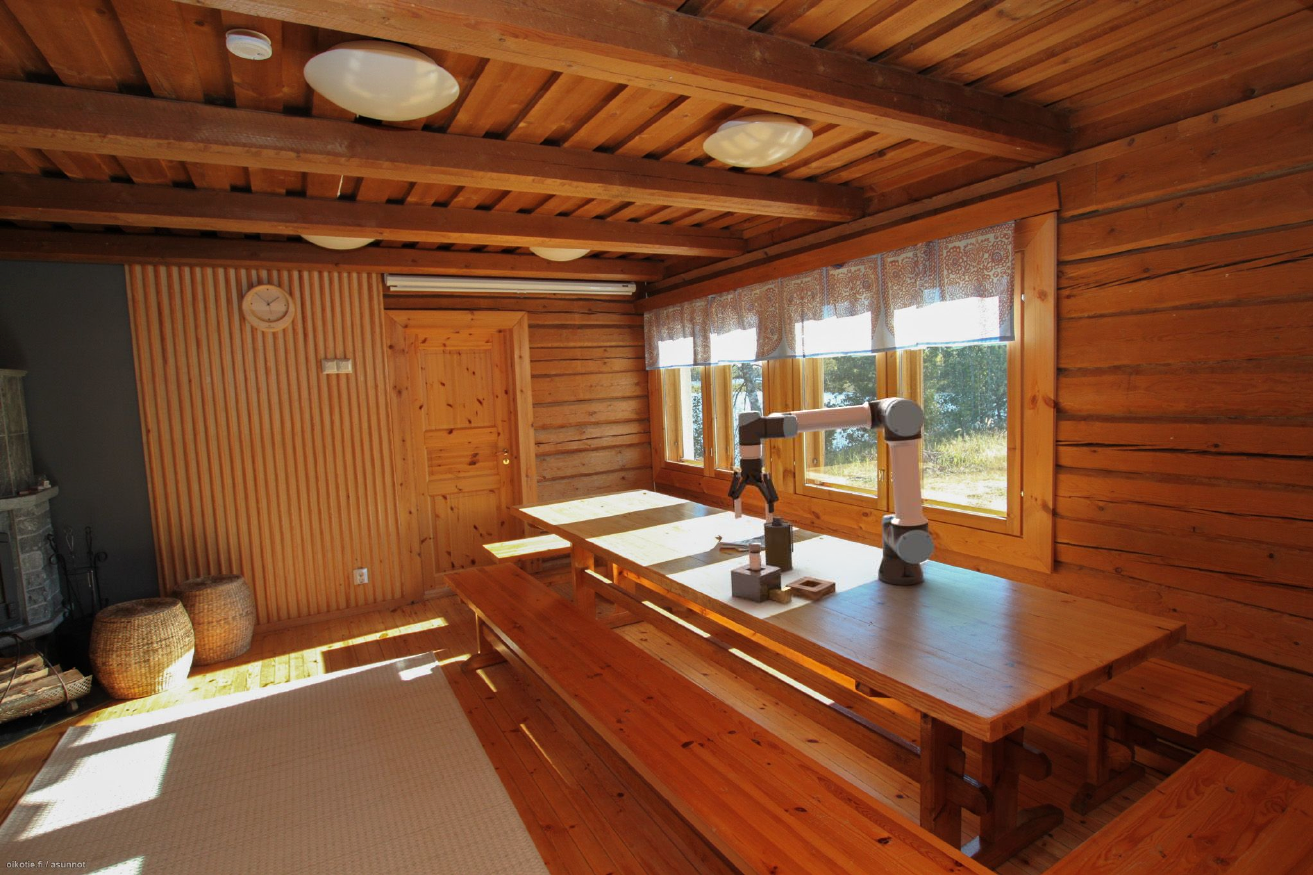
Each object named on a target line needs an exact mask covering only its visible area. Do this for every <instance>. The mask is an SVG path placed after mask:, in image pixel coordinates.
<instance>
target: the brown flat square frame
mask: <svg viewBox="0 0 1313 875" xmlns="http://www.w3.org/2000/svg"><path fill="white" fill-rule="evenodd" d="M784 587H785V588H786V587H790V588H791V596H795V597H799V598H804V599H808V600H812V601H815V602H816V601H819V600H821V599H823V598H824V597H827V596H828V595H831V594H833V593H834V592H836V582H834V581H829V580H825V579H819V578H816V577H811V576H802V578H798V579H796V580H793V581H791V582H789V583H787V584H785V586H784Z"/></svg>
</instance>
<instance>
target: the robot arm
mask: <svg viewBox="0 0 1313 875" xmlns="http://www.w3.org/2000/svg"><path fill="white" fill-rule="evenodd" d="M737 418H738V419H737V420H738V421H737V422H738V423H737V424H738V425H737V426H738V429H737V430H738V446H739V447H738V449H739V451H738V452H739V454H738V455H739V457H740V459H739V468H740V469H737V470H734V471H733V475H732V480H731V484H730V487H729V489H728V493H727V497H728V498H730V499H732V508H733V509H734V519H736V520H738V519H740V518H742V512H743V511H742V498H740V496H741V494H742V493H743V492H744V490H745V488H746V487H747V486H750V485H751V486H755V487H756V488H757V489H758V490H759V492H760V494H761V496H763V498H764V500H765V501H766V502H765V504H764V505H765V506H764V507H765V523H771V522H773V516H774V515H773V513H774V512H775V503H777V502H779V500H780V498H779V496H778V494H777V490H776V488H775V486H774V483H773V481H772V478H771V476H772V475H771V473H770V472H764V473H763V464H764V462H763V457H762V456H763V446H762V444H763V443H762V442H763V441H762V440H769V439H771V440H772V439H791V438H792V439H793V438H796V437H797V436H798V434H799V433H808V432H809V433H811V432H819V431H820V432H822V431H833V430H845V429H846V430H847V429H856V428H857V429H858V428H863V427H864V428H865V429H867V430H881V431H883V439H884V442H885V443H886V444H888V446H889V454H890V457H889V458H890V467H891V478H892V492H893V503H894V505H893V506H894V514H893V513H892V514H885V515H884V516H883V517H882V519H881V529H882V531H881V535H882V537H881V540H882V559H881V560H880V564H879V568H878V569H877V570H878V571H877V573H878V574H877V576H878V577H877V578H878V579H879V580H880V581H881V582H883V583H887V584H891V585H899V586H900V585H901V586H903V585H904V586H905V585H906V586H907V585H908V586H909V585H910V586H911V585H917V584H920V583H922V582H923V581H924V571H923V569H922V565H921V563H923V562H926V561H927V560H929V558H930V557H931V556H932V555H933V553H934V550H935V543H934V539H933V538H932V536H931V534H930V527H929V520H928V518H926V517H925V516H924V514H923V502H922V501H923V500H922V490H921V489H922V487H921V486H922V485H921V475H920V462H919V461H920V460H919V448H918V444H919V442H920V441H921V440H922V435H923V434H922V428H923V426H924V424H925V414H924V410H923V409H922V407H921V406H920V405H919V404H918V403H917V402H916V401H914V400H912V399H910V398H907V397H905V398H904V397H893V396H892V397H888V398H883V399H879V400H872V401H865V402H864V403H863V404H862V405H852V406H840V407H831V408H820V409H818V408H817V409H809V410H799V411H790V412H789V411H788V412H772V413H770V414H769V415H767V416H762V414H761V412H760V410H746V411H740V412H739V414H738V416H737Z"/></svg>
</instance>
